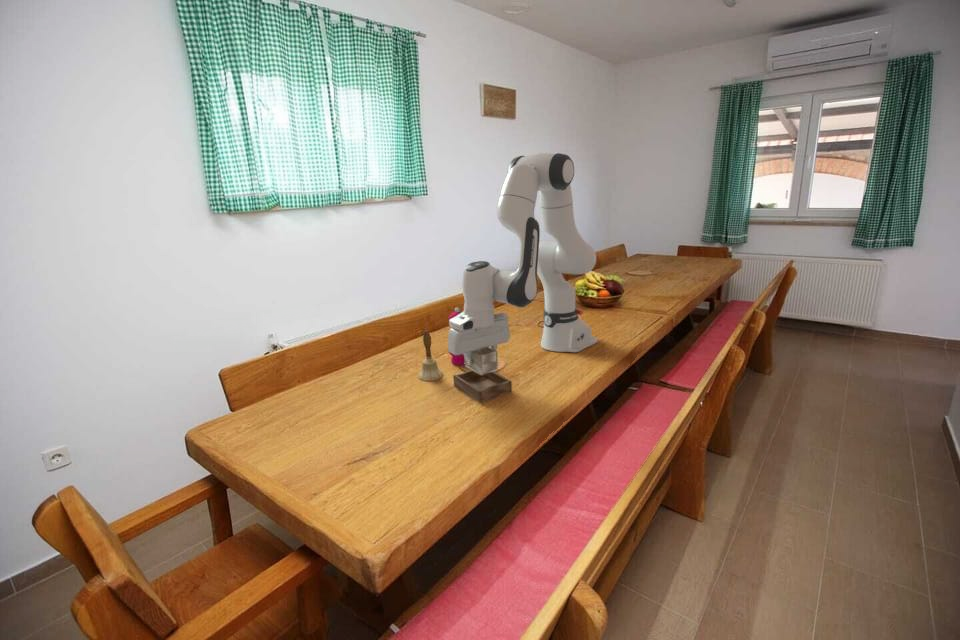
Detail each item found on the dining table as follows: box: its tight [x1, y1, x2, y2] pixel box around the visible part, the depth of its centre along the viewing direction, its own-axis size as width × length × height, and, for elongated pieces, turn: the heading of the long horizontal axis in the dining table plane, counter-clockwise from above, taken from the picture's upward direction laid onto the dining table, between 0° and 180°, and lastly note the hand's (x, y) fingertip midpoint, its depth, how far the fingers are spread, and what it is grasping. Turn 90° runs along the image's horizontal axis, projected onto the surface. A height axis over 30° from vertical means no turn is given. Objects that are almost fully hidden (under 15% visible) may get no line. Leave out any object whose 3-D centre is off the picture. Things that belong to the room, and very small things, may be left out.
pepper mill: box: [448, 307, 465, 366], centre depth 162 cm, size 7×7×20 cm
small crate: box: [464, 347, 499, 375], centre depth 140 cm, size 6×9×6 cm, turn 34°
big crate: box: [453, 369, 513, 404], centre depth 143 cm, size 12×15×4 cm
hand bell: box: [417, 329, 444, 382], centre depth 152 cm, size 8×8×16 cm
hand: (480, 361), depth 140 cm, fingers closed on small crate, 6 cm apart
